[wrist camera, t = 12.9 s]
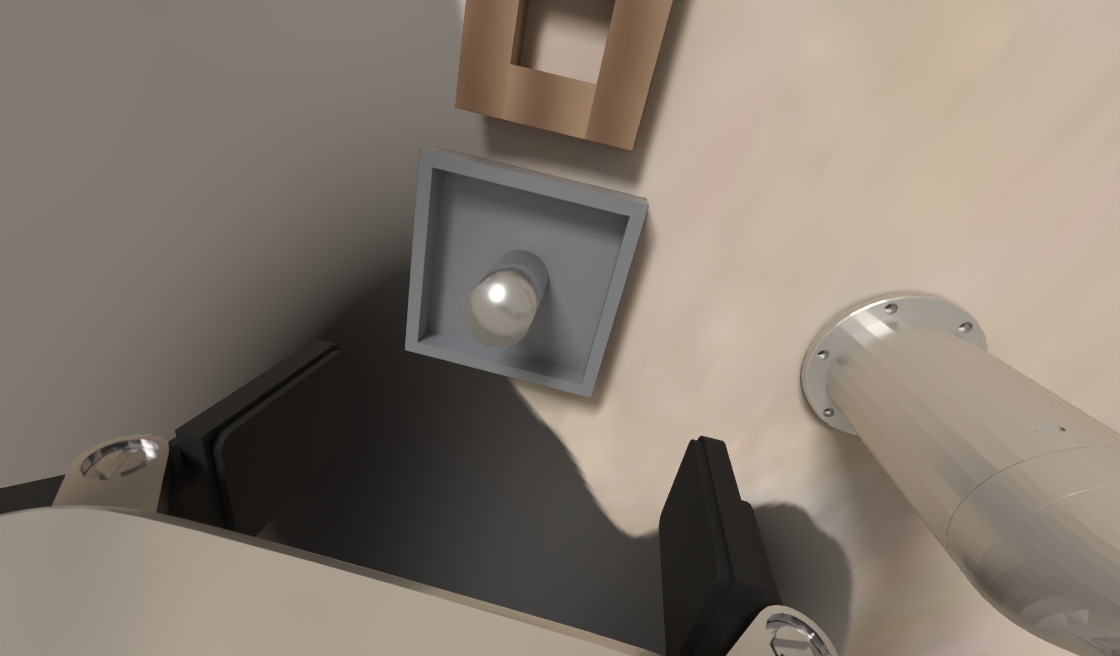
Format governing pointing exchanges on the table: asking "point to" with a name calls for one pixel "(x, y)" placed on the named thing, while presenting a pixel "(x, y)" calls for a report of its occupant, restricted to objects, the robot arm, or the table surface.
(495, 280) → the pin
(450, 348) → the tray
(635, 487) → the table surface
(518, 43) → the pin block
